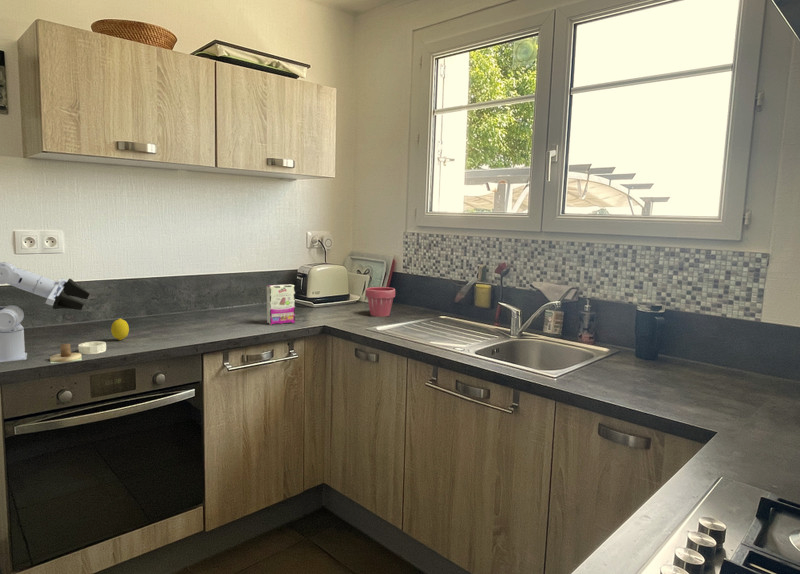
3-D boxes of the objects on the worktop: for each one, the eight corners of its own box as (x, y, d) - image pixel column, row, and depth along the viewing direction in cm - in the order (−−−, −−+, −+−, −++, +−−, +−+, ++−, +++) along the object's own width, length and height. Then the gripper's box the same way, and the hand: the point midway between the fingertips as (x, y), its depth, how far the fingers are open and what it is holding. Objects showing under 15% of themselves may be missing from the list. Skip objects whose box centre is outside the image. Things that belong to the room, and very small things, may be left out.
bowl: (79, 356, 168) (79, 347, 168) (78, 350, 174) (77, 342, 174) (107, 353, 172) (106, 345, 172) (104, 348, 178) (104, 340, 178)
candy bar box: (291, 321, 235) (291, 283, 233) (295, 323, 230) (295, 285, 228) (266, 323, 229) (266, 284, 226) (270, 325, 224) (270, 286, 222)
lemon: (109, 342, 186) (109, 320, 185) (113, 339, 191) (112, 317, 190) (127, 342, 188) (126, 319, 187) (130, 338, 193) (130, 316, 192)
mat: (50, 364, 158) (50, 363, 158) (50, 357, 165) (50, 357, 165) (82, 360, 163) (82, 359, 162) (80, 355, 169) (80, 354, 169)
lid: (50, 363, 158) (49, 349, 157) (49, 357, 165) (49, 343, 164) (82, 360, 162) (81, 346, 162) (80, 354, 169) (80, 340, 169)
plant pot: (358, 314, 256) (359, 287, 255) (381, 311, 266) (382, 286, 264) (378, 319, 246) (378, 291, 244) (400, 316, 255) (401, 289, 254)
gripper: (34, 283, 156) (84, 301, 162) (49, 264, 168) (95, 281, 174) (26, 303, 157) (75, 320, 163) (41, 283, 170) (87, 299, 176)
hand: (85, 301), depth 169 cm, fingers open, 7 cm apart
